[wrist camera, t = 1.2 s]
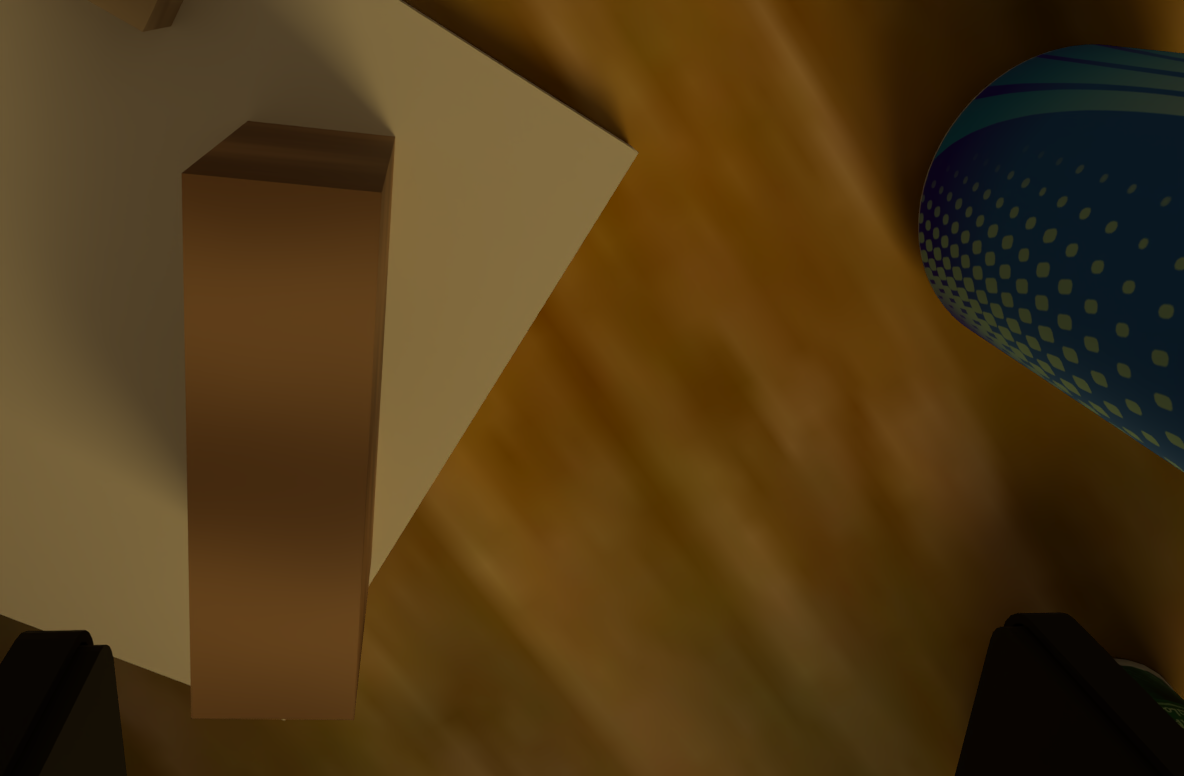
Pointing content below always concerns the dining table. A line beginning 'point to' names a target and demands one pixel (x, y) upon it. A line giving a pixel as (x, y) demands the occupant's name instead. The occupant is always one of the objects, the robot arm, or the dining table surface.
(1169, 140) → the beer can
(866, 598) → the dining table surface
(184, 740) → the dining table surface
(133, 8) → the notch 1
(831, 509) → the dining table surface
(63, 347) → the wall panel
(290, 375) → the wooden block
